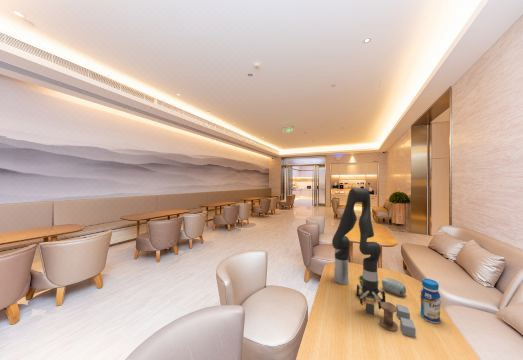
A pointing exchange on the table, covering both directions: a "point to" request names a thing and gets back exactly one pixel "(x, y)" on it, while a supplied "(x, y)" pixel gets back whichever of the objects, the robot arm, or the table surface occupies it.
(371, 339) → the table surface
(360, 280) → the plant pot
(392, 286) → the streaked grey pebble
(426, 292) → the beverage bottle
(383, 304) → the bobbin
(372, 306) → the tan rectangular block
